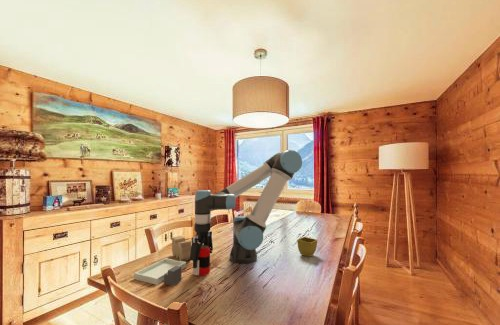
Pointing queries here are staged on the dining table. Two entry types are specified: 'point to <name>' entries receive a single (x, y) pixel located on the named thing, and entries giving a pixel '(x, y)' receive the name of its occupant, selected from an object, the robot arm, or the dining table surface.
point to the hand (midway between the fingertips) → (201, 270)
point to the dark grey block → (173, 276)
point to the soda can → (204, 260)
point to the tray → (157, 271)
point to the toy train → (181, 248)
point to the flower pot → (307, 246)
